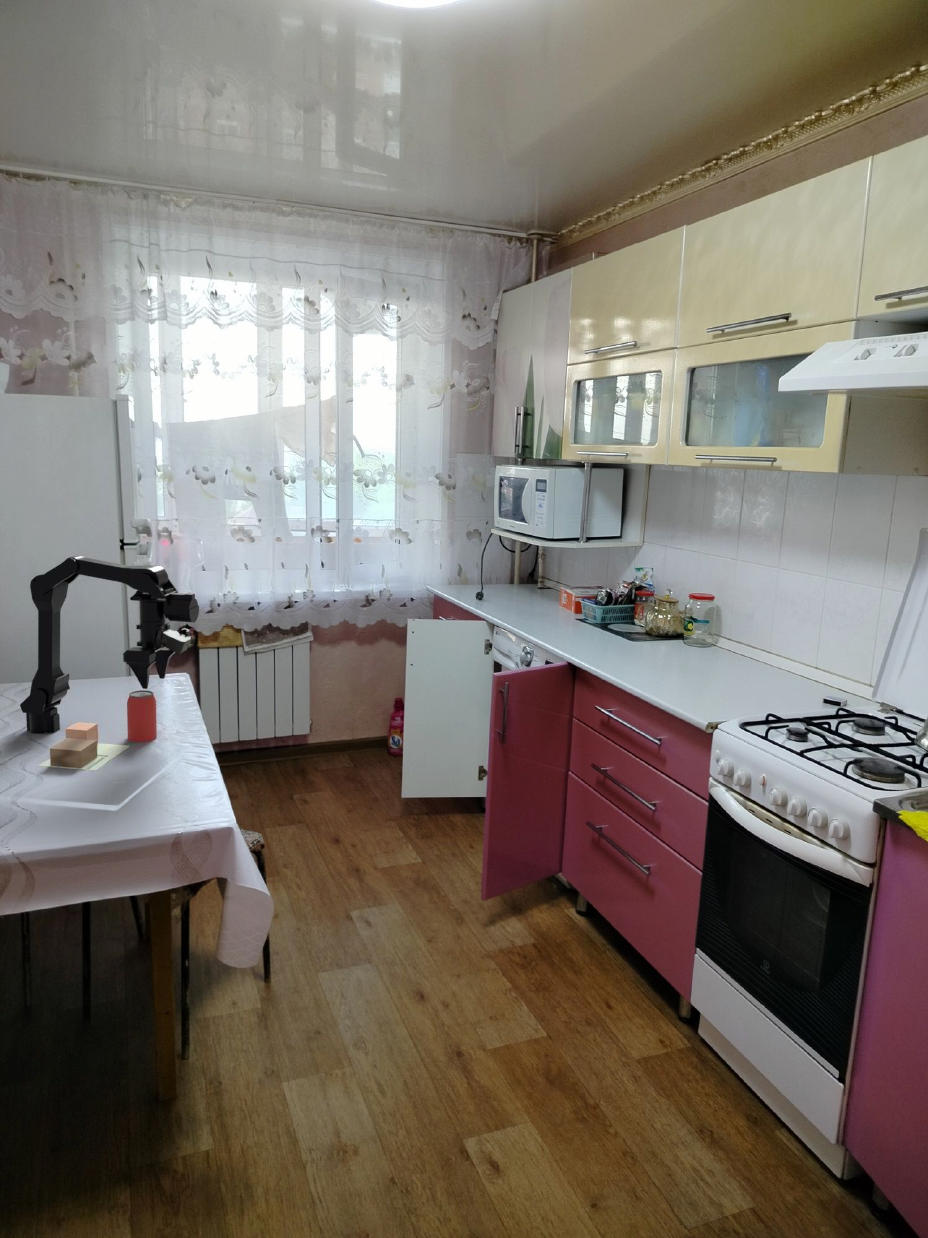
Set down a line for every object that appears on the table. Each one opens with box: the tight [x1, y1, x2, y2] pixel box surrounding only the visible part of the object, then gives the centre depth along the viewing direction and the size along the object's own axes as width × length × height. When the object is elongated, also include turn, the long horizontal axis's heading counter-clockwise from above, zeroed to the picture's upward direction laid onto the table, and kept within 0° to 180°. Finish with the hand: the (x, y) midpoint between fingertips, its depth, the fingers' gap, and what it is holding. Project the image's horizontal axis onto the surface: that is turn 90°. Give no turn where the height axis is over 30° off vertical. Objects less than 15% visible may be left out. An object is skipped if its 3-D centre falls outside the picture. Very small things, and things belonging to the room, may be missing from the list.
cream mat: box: [38, 742, 130, 771], centre depth 192 cm, size 13×16×1 cm
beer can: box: [126, 689, 158, 743], centre depth 205 cm, size 7×7×12 cm
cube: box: [65, 721, 99, 745], centre depth 197 cm, size 5×5×5 cm
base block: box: [49, 737, 98, 768], centre depth 188 cm, size 7×7×4 cm
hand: (153, 683), depth 203 cm, fingers open, 9 cm apart
